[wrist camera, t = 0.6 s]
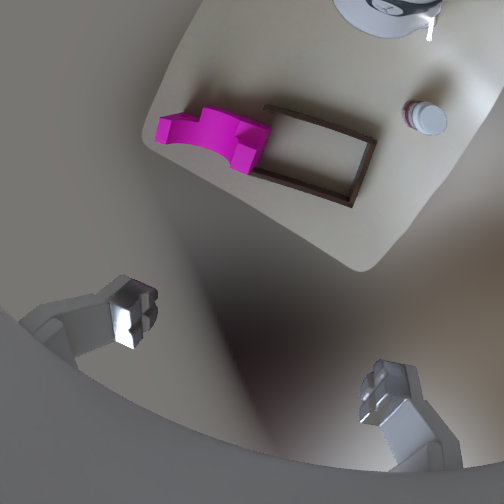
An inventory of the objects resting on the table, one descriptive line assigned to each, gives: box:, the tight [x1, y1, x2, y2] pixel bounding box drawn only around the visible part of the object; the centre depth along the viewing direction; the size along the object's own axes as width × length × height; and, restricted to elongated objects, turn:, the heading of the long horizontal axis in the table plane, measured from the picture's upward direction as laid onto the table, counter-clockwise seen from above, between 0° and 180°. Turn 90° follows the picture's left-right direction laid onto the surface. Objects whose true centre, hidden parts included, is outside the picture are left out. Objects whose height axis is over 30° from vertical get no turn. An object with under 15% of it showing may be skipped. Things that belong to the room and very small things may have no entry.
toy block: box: [155, 106, 272, 175], centre depth 39 cm, size 15×6×8 cm, turn 71°
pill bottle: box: [402, 101, 447, 135], centre depth 30 cm, size 5×5×8 cm
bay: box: [248, 104, 377, 208], centre depth 40 cm, size 11×17×2 cm
